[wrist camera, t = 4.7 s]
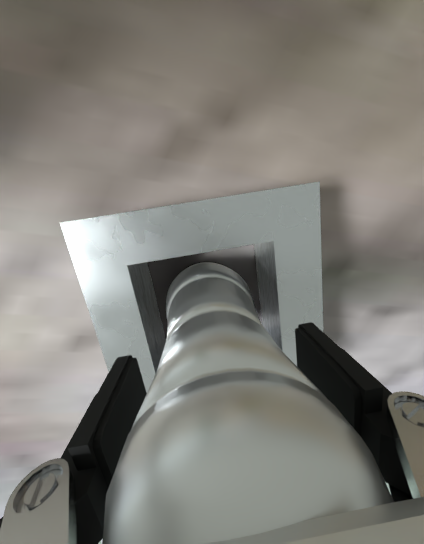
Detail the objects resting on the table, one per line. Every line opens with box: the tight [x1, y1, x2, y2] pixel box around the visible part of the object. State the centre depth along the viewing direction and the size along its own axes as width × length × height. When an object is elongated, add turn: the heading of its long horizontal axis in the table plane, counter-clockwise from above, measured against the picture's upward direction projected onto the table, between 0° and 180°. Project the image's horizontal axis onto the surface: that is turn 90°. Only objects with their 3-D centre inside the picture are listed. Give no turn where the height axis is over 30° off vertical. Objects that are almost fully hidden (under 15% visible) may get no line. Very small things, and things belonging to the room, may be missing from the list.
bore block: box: [60, 182, 323, 393], centre depth 17 cm, size 15×15×5 cm
